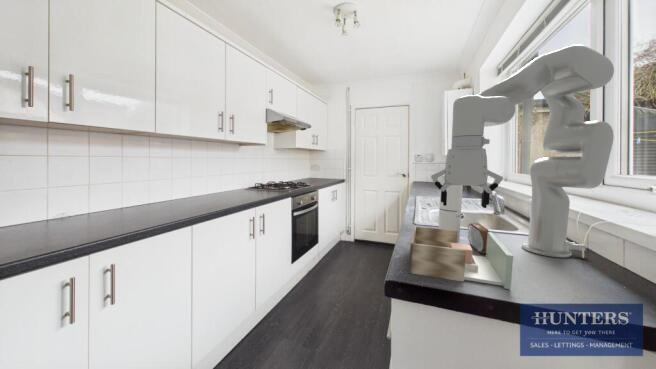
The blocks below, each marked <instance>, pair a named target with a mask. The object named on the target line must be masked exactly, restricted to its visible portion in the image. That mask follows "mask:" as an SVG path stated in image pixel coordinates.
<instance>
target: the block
mask: <svg viewBox="0 0 656 369" xmlns="http://www.w3.org/2000/svg"><path fill="white" fill-rule="evenodd" d="M450 248H455V249H463V250H466V256H465V263H467V264H472V255H473V247H472V246H471V245H470V244H468V243H467V244H466V243H460V242H459V243H450Z"/></svg>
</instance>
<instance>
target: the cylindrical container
mask: <svg viewBox="0 0 656 369" xmlns="http://www.w3.org/2000/svg"><path fill="white" fill-rule="evenodd" d="M444 183H445V174H444V175H442V176H440V184H441V185H443V184H444ZM463 186H464V185H450V186H449V187H448V188H447V189H446V191H447V205H446V206H444V205H443V202H441V190H440V189H439V207H438V227H437V229H446V230H456V231H458V234H457V243H459V244H460V240H461V239H460V236H461V219H462V204H463V202H462V201H463V200H462V199H463V188H464V187H463Z"/></svg>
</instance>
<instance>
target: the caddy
mask: <svg viewBox="0 0 656 369" xmlns="http://www.w3.org/2000/svg"><path fill="white" fill-rule="evenodd" d="M457 234H458V231H456V230H446V229H438V228H433V227H425V226H424V227H421V226H414V228H413V232H412V236H411V241H410V250H409V252H410V253H409V274H414V275H419V276H426V277H433V278H439V279H445V280H451V281H456V282H465V280H464V272H465V256H466V250H463V249H455V248H450V243H457Z"/></svg>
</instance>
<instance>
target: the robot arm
mask: <svg viewBox="0 0 656 369" xmlns="http://www.w3.org/2000/svg"><path fill="white" fill-rule="evenodd" d="M614 73H615V69H614V64H613V62H612V61H611V59H609V58H608V57H607V56H605V55H604V54H602V53H600V52H599V51H596V50H595V49H593V48H591V47H588V46H586V45H583V44H572V45H569V46H565V47H563V48H561V49H557V50H554V51H551V52H548V53H544V54H542V55H540V56H538V57H535V58H534V59H533V60H531V61H529V62H528V63H527V64H525V65H524V66H523V67H521V68H520V69H518V71H517V72H515V73H514V74H512V75H511V76H510V77H508V78H505V79H504V80H501V81H500V82H498V83H497V84H495V85H493V86H491V87H489V88H487V89H485V90H483V91H482V92H479V93H478V94H475V95H474V94H473V95H465V96H461V97H458V98H456V99H455V100H454V102H453V106H452V123H451V125H452V126H451V144H450V145H451V146H450V148H449V149H447V154H446V158H445V166H444V167H445V168H444V169H442V170H440V171H438V172H436V173H434V174H432V175H431V176H430V177H431V179H432V182H433V183H434V185H435V187H437V188H438V190H439V191H440V190H441V202H443V205H444V206H446V205H447V191H446V189H447V188H448V187H449V186H450V185H463V186H469V187H470V186H472V187H474V186H475V187H478V186H479V187H480V188H481V189H482V193H481V199H480V200H481V201H480V202H481V203H480V204H481V205H480V206H481V207H482V208H483V209H487V206H488V205H490V194H491V193H492V192H493V191H494V190H495V189H497V188H498V187H499V185H500V184H501V182H502V180H504V177H503V176H502V175H500V174H498V173H495V172H494V171H491V170H489V169H488V156H487V150H486V148H484V146H485V145H489V144H490V142H491V141H490V138H485V135H484V134H485V133H484V130H485V127H494V126H495V127H496V126H500V125H503V124H506V123H509V122H510V121H511V120H512V119H513V117H515V113H516V106H517V105H519V104H522V103H524V102H527V101H529V100H530V99H532V98H533V97H534V96H536V95H537V94H538V93H541V94H542V96H543V98H544V99H545V102H546V104H547V105H548V108H549V116H548V121H547V125H546V129H545V133H544V137H543V141H542V142H543V143H542V146H543V149H544V151H546V152H547V153H549V154H555V155H559V154H561V155H568V154H582V155H581V156H546V157H542V158H541V157H540V158H538V159H536V160H534V161H533V163H532V164H531V166H530V168H529V169H530V170H529V174H530V180H531V201H530V202H531V204H530V206H531V207H530V213H529V214H530V216H529V227H528V240H527V241H526V242H523V243H521V244H522V245H521V247H522V249H524V250H525V251H527V252H530V253H532V254H533V253H534V254H537V255H541V256H544V257H545V256H547V257H553V258H560V259H562V258H570V257H571V256H572V254H573V253H572V251H573V250H577V251H583V252H585V251H587V250H586V249H587V248H586V245H585V244H583V243H576V242H570V241H569V240H567V233H568V223H569V215H570V205H571V204H570V203H571V202H570V198H569V196H568V194H567V191H565V190H564V188H571V189H595V188H598V186H600V185H601V184H602V183H603V181H604V179H605V176H606V172H607V168H608V165H609V160H610V158H611V152H612V149H613V145H614V144H613V143H614V138H615V137H614V136H615V135H614V130H613V127H612V126H611V124H610V123H608V122H606V121H602V120H591V121H584V119H585V116H586V115H585V114H586V107H585V105H584V104H583V103H582V102H581V101H580V100H579V99H578V98H576V97H575V96H574V95H573V94H575V93H581V92H584V91H586V92H587V91H590V90H591V91H592V90H595V89H596V90H597V89H600V88H602V87H604V86H605V85H607V84H609V83H610V81H611V80H612V79H613V76H614ZM442 175H445V183H444V184H443V185H441V182H440V181H439V179H438V178H441V176H442ZM488 176H489V177H490V178H493V181H492V183H491V184H489V185H487V184H488Z"/></svg>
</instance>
